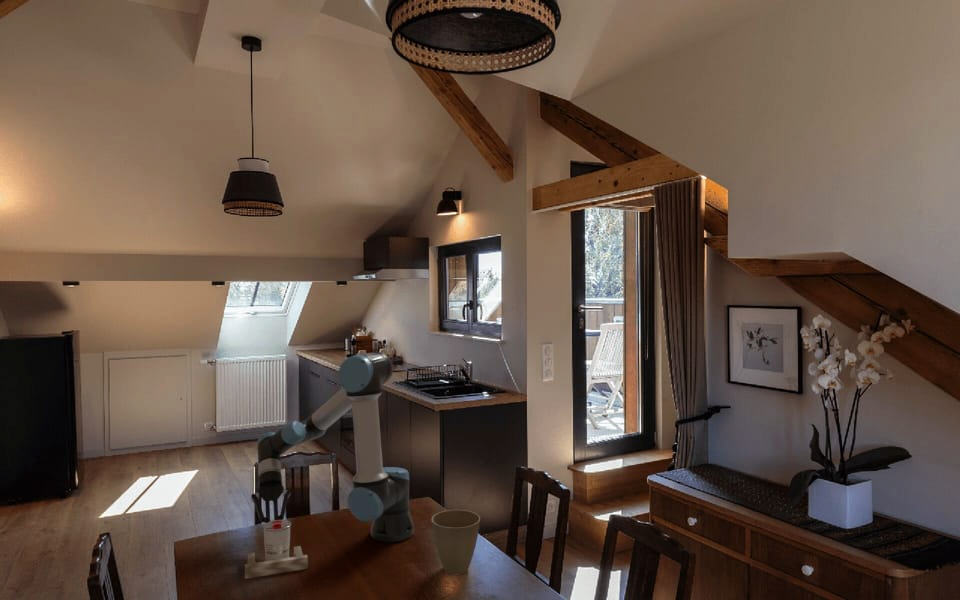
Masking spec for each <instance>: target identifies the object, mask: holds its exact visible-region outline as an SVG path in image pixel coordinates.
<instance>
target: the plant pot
mask: <svg viewBox="0 0 960 600" xmlns="http://www.w3.org/2000/svg"><path fill="white" fill-rule="evenodd" d="M480 522H481V517H480V515H479V514H477V513H476V512H473V511H470V510H464V509H448V510H443V511H439V512H437V513H436V514H433V516H432V517H431V526H432V533H433V537H434V539H433V540H434V543H435V547H436V550H437V554H438V558H439V560H440V564H441V566H442V568H443V572H444V573H446V574H448V573H449V574H448V575H451V574H460V575H463V574H465V573H467V572H468V571H469V567H470V565H471V563H472V560H473V557H474V553H475V550H476V546H477V545H476V544H477V540H478V536H479V530H480ZM467 570H468V571H467ZM466 571H467V572H466ZM462 573H463V574H462Z"/></svg>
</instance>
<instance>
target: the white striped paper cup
mask: <svg viewBox="0 0 960 600" xmlns="http://www.w3.org/2000/svg"><path fill="white" fill-rule="evenodd" d="M273 520H274V519H273ZM291 526H292V522H291V521H290V520H286V519H283V520H274V521H270V522H267V523H264V524H263V525H262V527H261V528H260V530H263V539H264V540H263V541H264V543H263V544H264V558H265V559H264V561H270V560H276V559H283V558H289V557H290V546H291V545H290V543H291Z"/></svg>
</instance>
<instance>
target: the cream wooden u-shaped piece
mask: <svg viewBox="0 0 960 600" xmlns="http://www.w3.org/2000/svg"><path fill="white" fill-rule="evenodd" d="M308 559H309V557H308V555H307V554H305V555H304V554H303V551H302V547H301V545H298V546H293V556H289V558H283V559H276V560H270V561H265V560H264V561H259V562H258V561H257V562H256V555H255V552H250V553H247V563H246V564H244V579H245V580H246V578H247V579H253V578H258V577H259V578H260V577H263V576H264V577H266V576H270V575H277V574H278V575H279V574H283V573H291V572H295V571H302V570H306V569H308V566H309V563H308V561H309V560H308Z"/></svg>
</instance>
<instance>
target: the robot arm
mask: <svg viewBox="0 0 960 600" xmlns="http://www.w3.org/2000/svg"><path fill="white" fill-rule="evenodd" d="M392 361H393V360H391V358H390V357H389V356H388V355H387V354H385V353H383V352H380V351H373V352H372V351H371V352H367V353H359V354H358V353H357V354H355V355H352V356H349V357H347V358H346V359H344V361H343V362H342V363H341V365H340V367H339V369H338V374H337V375H338V376H337V377H338V382H339V384H340V385H341V386H342V387H341V389H340V390H338V391H337V392H336V393H335V394H333V395H332V397H331V398H329V399H328V400H327V401H326V402H325V403H324V404H322V405H321V406H320V407H318V409H316V410H315V411H314V413H312V414H311V415H309V417H308V418H307V419H305V420H302V421H297V420H293V421H290V422H289V423H286V424H285V425H284V426H283V427H282V428H281V429H279V430H278V431H276V432H272V431H268V432H266V433H262V434H261V435H259V437H258V439H257V447H256V449H257V460H258V461H257V463H258V464H257V466H258V469H257V470H258V489H257V492H255V493H252V494H251V495H250V497H251V498H250V500H251V502H253V504H254V506H255V510H256V512H257V517H258V518H259V522H260V523H261V524H262V523H264V524H265V523H267V522H270V521H274V520H285V519H284V518H285V513H286V508H287V504H288V500H289V498H290V496H291V492H292V491H291V490H290V489H285V487H284V485H283V477H282V476H283V475H282V460H281V456H282V455H284V454H285V453H286V452H287V451H289V450H290V449H292V448H293V447H296V446H299V445H302V444H304V443H307V442H310V441H312V440H317V439H319V438H321V437H322V436H324V435H325V433H326V432H327V429H329V427H331V426H332V425H333V424H334V423H335V422H337V421H338V420H339V419H340V418H341V417H342V416H344V415H345V414H346V413H347V412H348V411H349V410H350V409H351V411H352V412H351V413H352V423H353V436H354V437H353V439H354V450H355V451H354V453H355V462H356V463H355V464H356V466H355V467H356V474H355V475H354V476H353V478H352V490H351V491H350V492H349V494H348V496H347V507H348V509H349V512H350V513H351V515H353V516H354V517H355V519H357V520H359V521H362V522H372V524H371V526H370V537H371V538H372V539H373V540H375V541H378V542H383V543H396V542H402V541H406V540H408V539H410V538H412V537H413V536H414V534H415V527H414V522H413V519H412V516H411V513H410V480H411V479H410V473H409V471H408V470H407V469H405V468H402V467H396V466H395V467H394V466H393V467H392V466H385V467H384V466H383V453H382V452H383V451H382V439H381V437H382V436H381V427H380V426H381V425H380V414H379V413H380V411H379V397H380V396H381V395H382V393H383V388H382V386H384V385H385V384H386V383H387V382H389V381H390V379H391V378H392V377H393V374H394V366H393V365H394V364H393V362H392ZM282 494H283V495H282ZM281 496H282V497H283V500H282V505H281V510H280V514H279V501H278V500H279V499H280V497H281ZM260 498H261V499H262V501H264V502H265V503H264V505H265V515H264V512H263V510H262V508H263V507H262V505H261V502H260ZM271 502H272V503H273V519H271V511H270V509H271V507H270V503H271ZM412 535H413V536H412ZM409 537H410V538H409ZM407 538H408V539H407ZM405 539H406V540H405Z"/></svg>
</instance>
